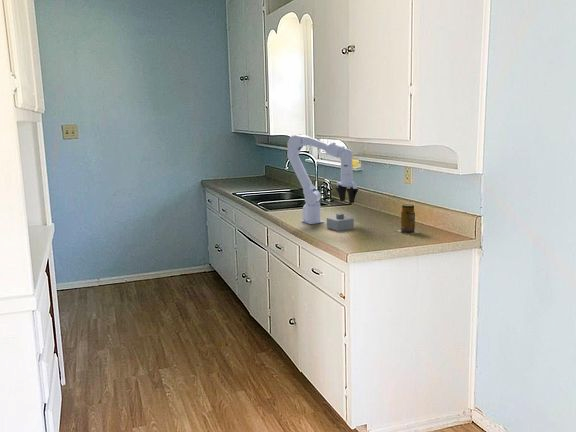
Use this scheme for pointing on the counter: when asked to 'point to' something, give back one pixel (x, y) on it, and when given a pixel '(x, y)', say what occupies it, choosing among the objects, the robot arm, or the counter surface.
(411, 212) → the condiment
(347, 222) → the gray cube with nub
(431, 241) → the counter surface
